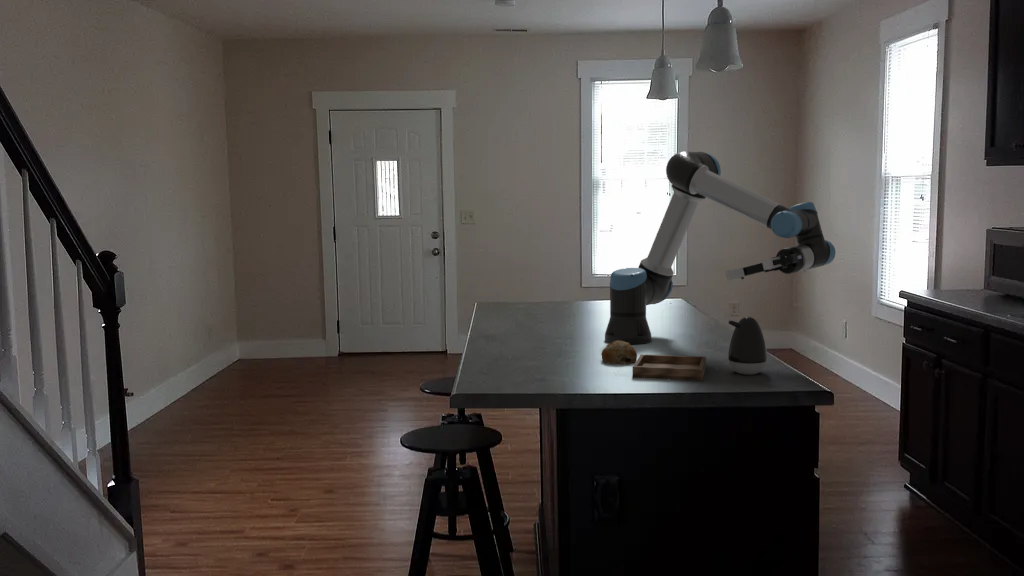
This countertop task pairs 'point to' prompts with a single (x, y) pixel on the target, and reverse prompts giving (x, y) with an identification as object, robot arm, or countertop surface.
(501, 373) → the countertop surface
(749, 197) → the robot arm
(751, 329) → the pump dispenser
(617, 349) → the bread roll
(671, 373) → the walnut tray
